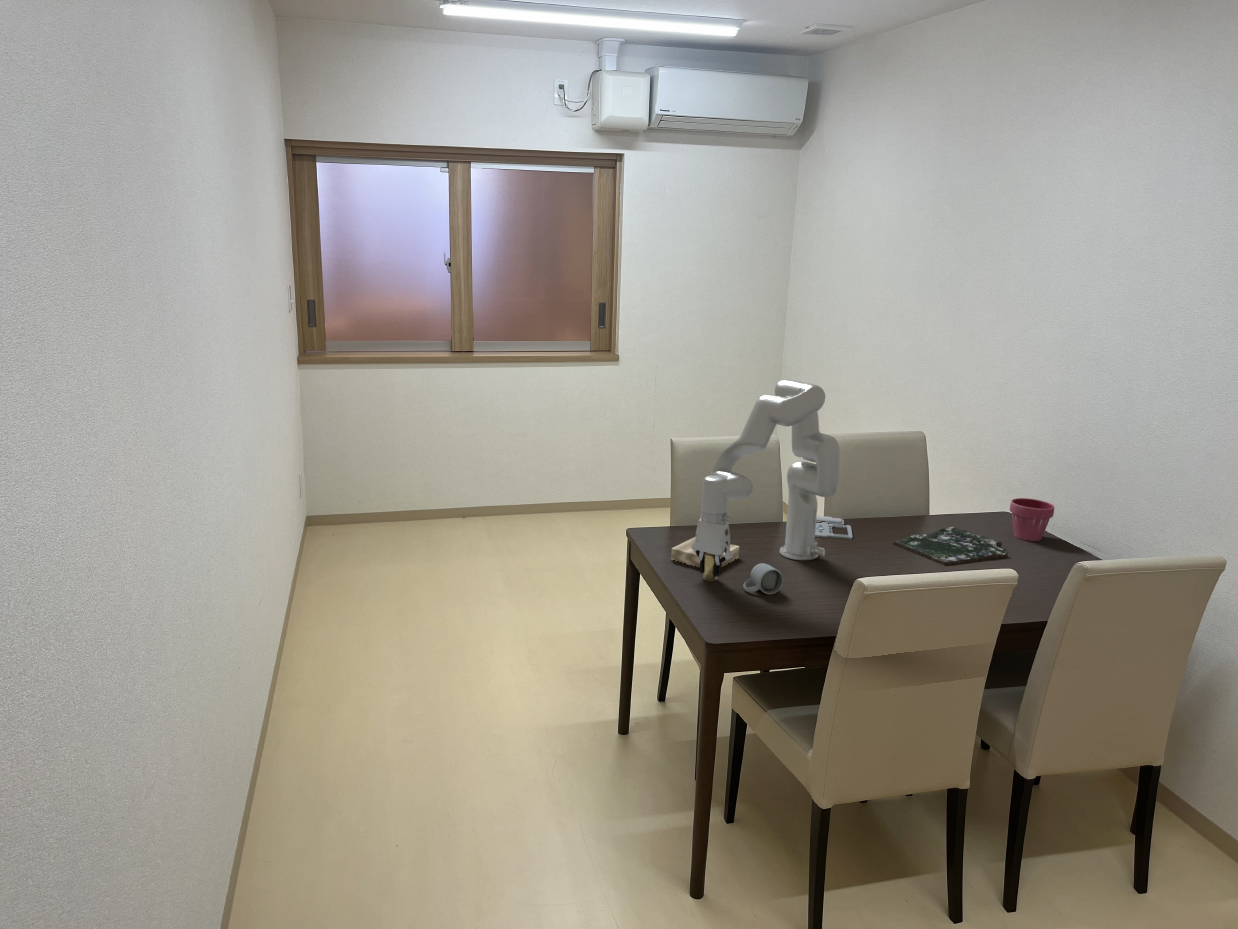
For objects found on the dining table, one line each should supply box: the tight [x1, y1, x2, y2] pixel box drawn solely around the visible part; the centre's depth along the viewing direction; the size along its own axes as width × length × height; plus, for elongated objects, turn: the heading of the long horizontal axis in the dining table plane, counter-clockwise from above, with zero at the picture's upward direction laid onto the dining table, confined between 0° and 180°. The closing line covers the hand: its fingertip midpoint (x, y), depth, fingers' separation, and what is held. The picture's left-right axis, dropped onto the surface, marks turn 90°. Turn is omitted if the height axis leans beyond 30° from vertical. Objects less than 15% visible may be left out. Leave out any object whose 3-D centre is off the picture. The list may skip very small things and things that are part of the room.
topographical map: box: [892, 526, 1009, 566], centre depth 295 cm, size 26×33×3 cm
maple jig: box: [670, 536, 740, 569], centre depth 279 cm, size 16×16×4 cm
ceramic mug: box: [742, 562, 784, 595], centre depth 255 cm, size 11×8×8 cm
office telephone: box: [815, 515, 853, 540], centre depth 314 cm, size 23×3×20 cm
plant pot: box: [1009, 497, 1055, 542], centre depth 308 cm, size 14×14×13 cm
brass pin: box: [702, 553, 718, 582], centre depth 262 cm, size 4×4×8 cm
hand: (710, 573), depth 262 cm, fingers closed on brass pin, 4 cm apart
